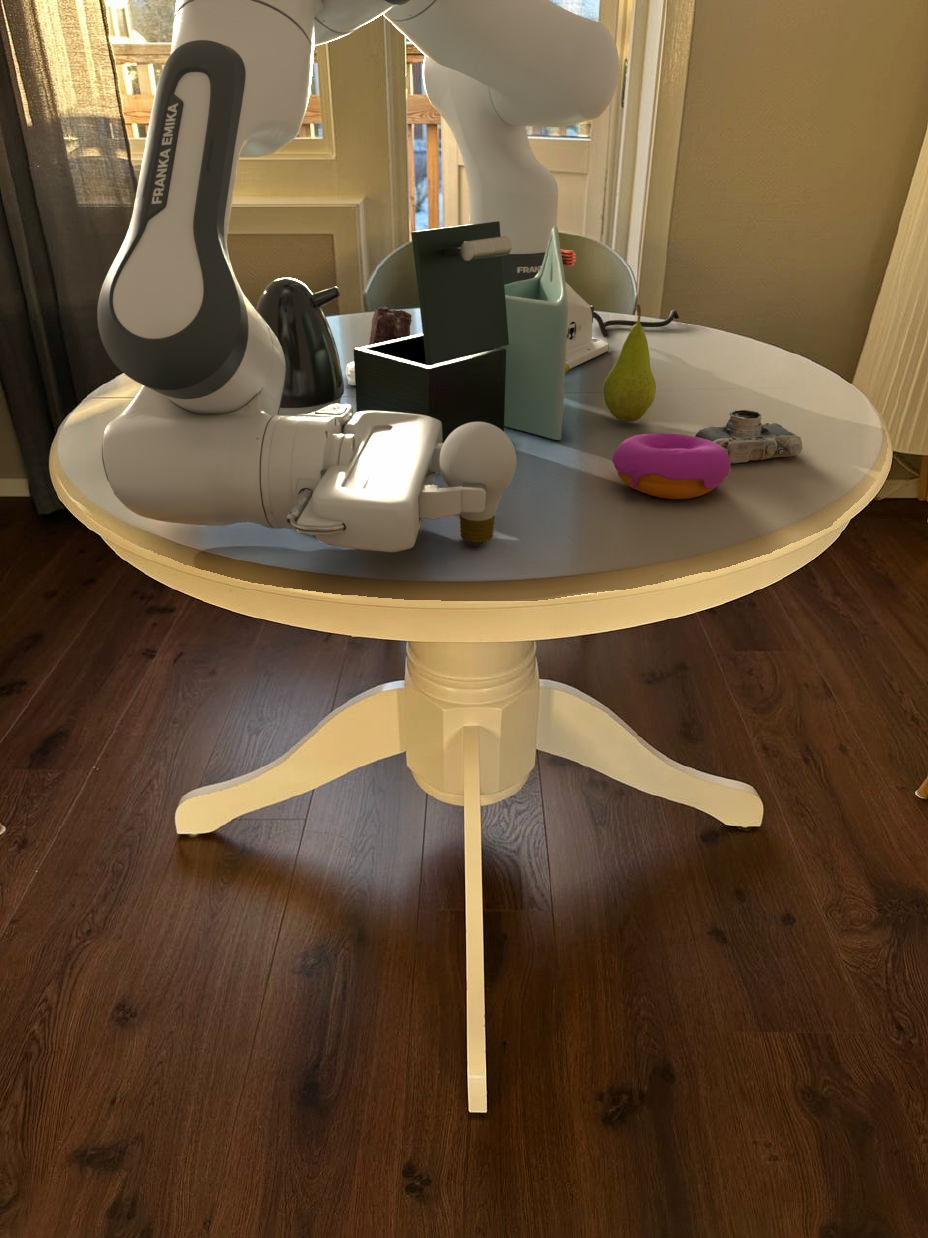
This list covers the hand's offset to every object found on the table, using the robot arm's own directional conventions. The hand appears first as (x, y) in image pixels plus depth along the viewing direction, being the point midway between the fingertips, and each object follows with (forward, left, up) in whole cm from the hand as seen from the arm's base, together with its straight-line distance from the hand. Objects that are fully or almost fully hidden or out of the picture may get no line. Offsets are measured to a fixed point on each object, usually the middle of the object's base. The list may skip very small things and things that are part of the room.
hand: (489, 480), depth 71 cm
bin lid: (-13, -16, +10) cm, 23 cm away
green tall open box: (-26, -20, -6) cm, 34 cm away
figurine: (-26, -41, -5) cm, 49 cm away
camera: (-34, +4, -6) cm, 35 cm away
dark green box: (-13, -20, -6) cm, 25 cm away
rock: (-30, -45, +3) cm, 54 cm away
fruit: (-34, -11, -6) cm, 36 cm away
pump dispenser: (-7, -34, -6) cm, 36 cm away
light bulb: (+1, -1, -6) cm, 6 cm away
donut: (-21, +3, -6) cm, 22 cm away
